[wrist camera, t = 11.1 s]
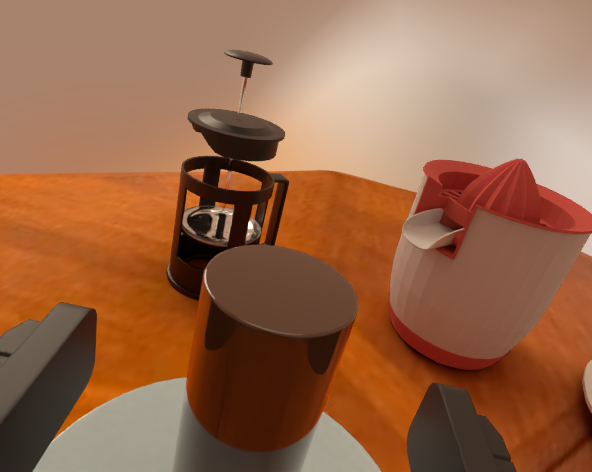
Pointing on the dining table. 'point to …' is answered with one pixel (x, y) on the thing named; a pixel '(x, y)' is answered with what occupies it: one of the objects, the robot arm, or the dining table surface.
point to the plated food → (588, 384)
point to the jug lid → (237, 381)
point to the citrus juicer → (481, 260)
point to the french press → (219, 220)
